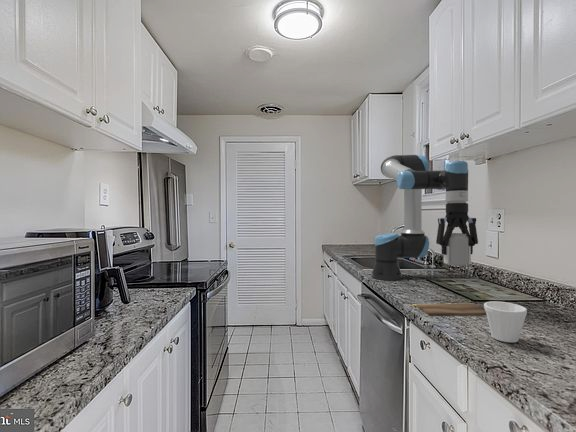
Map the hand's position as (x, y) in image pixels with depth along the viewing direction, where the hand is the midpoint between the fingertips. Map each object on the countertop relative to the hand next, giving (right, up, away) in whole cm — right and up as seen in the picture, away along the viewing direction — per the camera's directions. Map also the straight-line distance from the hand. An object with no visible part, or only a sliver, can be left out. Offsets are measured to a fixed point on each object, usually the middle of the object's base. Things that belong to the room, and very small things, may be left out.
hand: (457, 263), depth 120 cm
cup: (-3, -17, -31) cm, 35 cm away
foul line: (-5, -16, +1) cm, 17 cm away
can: (0, -1, 0) cm, 1 cm away
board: (-4, -16, -6) cm, 18 cm away
